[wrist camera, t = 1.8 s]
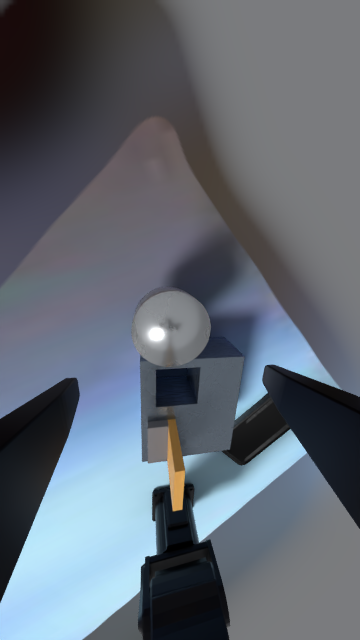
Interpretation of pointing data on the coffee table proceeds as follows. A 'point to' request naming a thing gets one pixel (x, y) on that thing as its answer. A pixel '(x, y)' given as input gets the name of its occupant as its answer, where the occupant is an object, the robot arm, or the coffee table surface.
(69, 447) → the coffee table surface
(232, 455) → the phone
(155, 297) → the grey rounded piece
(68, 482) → the coffee table surface
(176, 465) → the grey orange block
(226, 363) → the hitch block
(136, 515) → the coffee table surface
